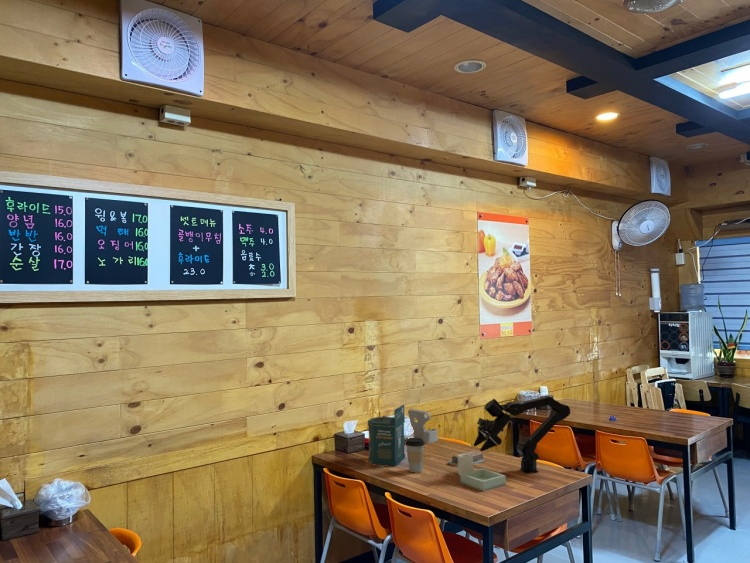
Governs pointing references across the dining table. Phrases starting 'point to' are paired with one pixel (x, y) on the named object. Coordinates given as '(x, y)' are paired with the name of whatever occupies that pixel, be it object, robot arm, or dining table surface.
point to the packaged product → (475, 454)
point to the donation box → (387, 439)
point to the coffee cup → (415, 454)
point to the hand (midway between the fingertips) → (477, 448)
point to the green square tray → (483, 479)
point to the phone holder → (422, 426)
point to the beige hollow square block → (465, 463)
